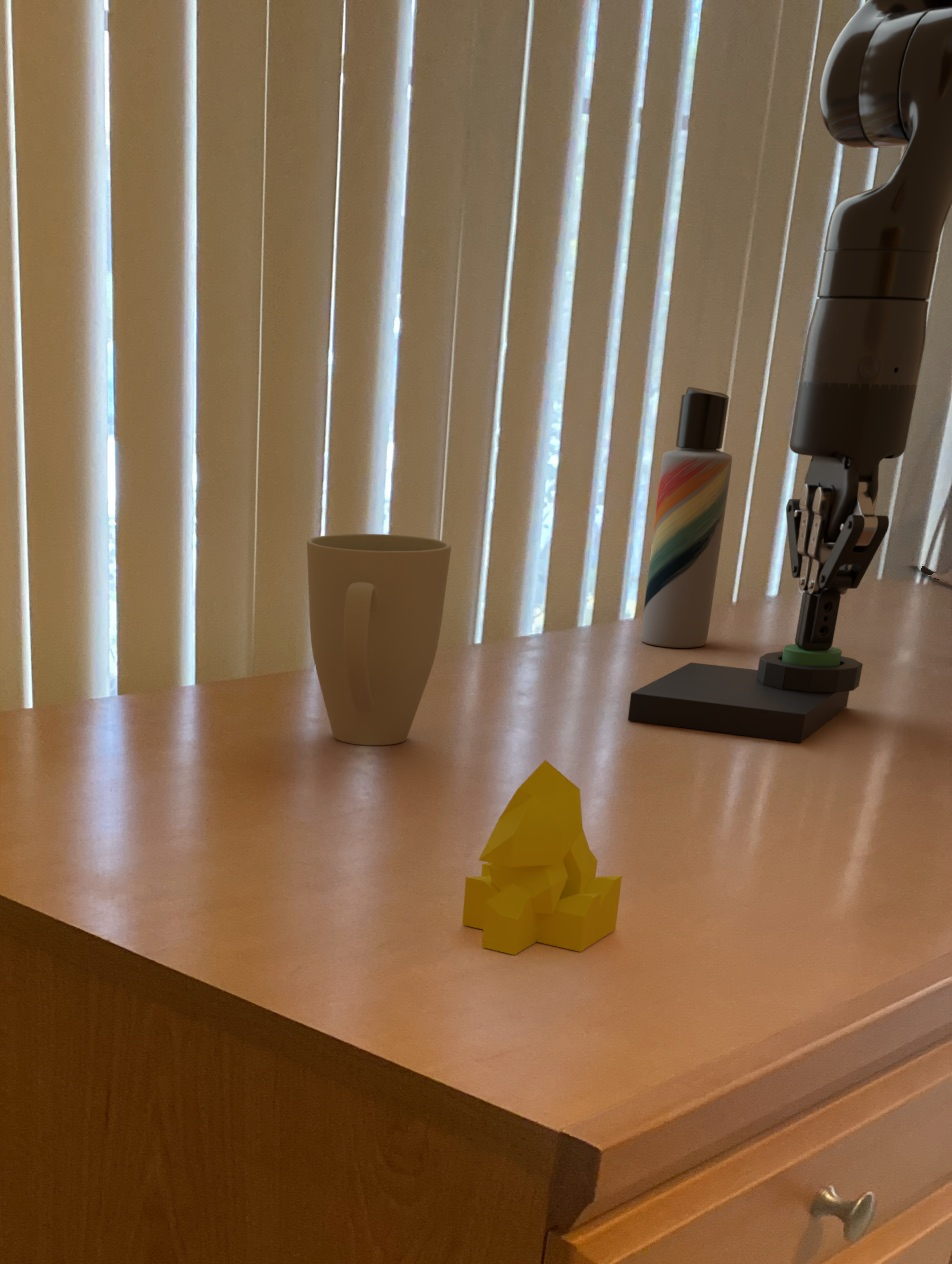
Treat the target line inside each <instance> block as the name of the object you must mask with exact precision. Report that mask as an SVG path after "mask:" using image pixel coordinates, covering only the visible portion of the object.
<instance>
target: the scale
mask: <svg viewBox="0 0 952 1264" xmlns="http://www.w3.org/2000/svg"><path fill="white" fill-rule="evenodd" d="M782 656H783V651H776V652H767V653H765V654H763V655H761V656H760V657H759V660H758V667H757V669H753V668H752V669H751V668H744V667H735V666H725V665H716V664H708V663H701V662H689V663H687V664H685V665H683V666H681V667H679V668H676V669H675V670H673V671H671V672H670V673H667V674H665V675H663V676H661V677H660V678H658V679H655V680H654V681H652V682H650V683H648V684H646V685H644V686H641V687H640V688H638V689H636V690H634V691H632V692H631V693H630V698H629V706H628V707H629V708H628V716H627V721H630V722H637V723H645V724H652V725H660V726H667V727H674V728H683V729H689V730H690V729H691V730H698V731H705V732H714V733H720V734H729V735H735V736H744V737H751V738H759V739H766V740H773V741H783V742H787V743H789V742H790V743H797V744H801V743H802V742H804V741H805V740H806V739H808V737H810V736H811V735H813V734H814V733H815V732H816V731H818V730H819V729H820V728H821V727H823V726H824V725H825V724H826V723H828V722H830V721H831V720H832V719H833V718H834V717H836V716H837V715H838V714H840V713H841V712H842V711H843V710H844V709H846V708H847V707H848V701H849V696H850V692H852V691H855V690H856V689H857V688H859V686H860V682H861V677H862V671H863V663H862V662H860V661H858V660H857V659H855V658H851V657H847V656H843V655H841V660H840V665H839V666H806V665H797V664H792V663H788V662H783V661H782Z"/></svg>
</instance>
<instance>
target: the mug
mask: <svg viewBox="0 0 952 1264" xmlns="http://www.w3.org/2000/svg"><path fill="white" fill-rule="evenodd" d="M306 553H307V554H306V555H307V556H306V557H307V559H306V560H307V583H308V587H307V588H308V589H307V590H308V607H309V608H308V614H309V633H310V644H311V651H312V656H313V661H314V662H313V663H314V666H315V672H316V675H317V678H318V682H319V686H320V690H321V694H322V698H323V702H324V706H325V709H326V713H327V717H328V721H329V725H330V729H331V733H332V736H333V738H334V739H335V740H337V741H339V742H343V743H347V744H352V745H360V746H388V745H389V746H390V745H396V744H397V745H398V744H400V743H403V742H405V741H406V740H407V738H408V736H409V734H410V730H411V728H412V725H413V722H414V719H415V716H416V714H417V711H418V708H419V705H420V703H421V700H422V697H423V694H424V692H425V689H426V686H427V684H428V681H429V678H430V675H431V672H432V669H433V666H434V663H435V659H436V655H437V650H438V647H439V640H440V636H441V635H440V634H441V629H442V628H441V627H442V621H443V613H444V607H445V606H444V605H445V599H446V598H445V597H446V590H447V583H448V574H449V567H450V559H451V553H452V545H451V543H450V542H447V541H444V540H440V539H435V538H430V537H423V536H414V535H413V536H412V535H401V534H385V533H384V534H383V533H343V534H340V533H339V534H327V535H320V536H314V537H311V538H308V539H307V540H306Z"/></svg>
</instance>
